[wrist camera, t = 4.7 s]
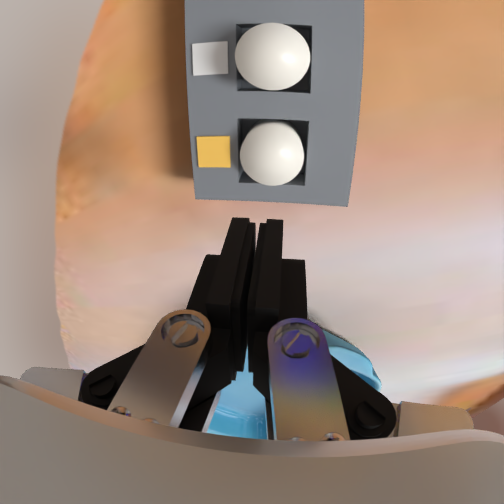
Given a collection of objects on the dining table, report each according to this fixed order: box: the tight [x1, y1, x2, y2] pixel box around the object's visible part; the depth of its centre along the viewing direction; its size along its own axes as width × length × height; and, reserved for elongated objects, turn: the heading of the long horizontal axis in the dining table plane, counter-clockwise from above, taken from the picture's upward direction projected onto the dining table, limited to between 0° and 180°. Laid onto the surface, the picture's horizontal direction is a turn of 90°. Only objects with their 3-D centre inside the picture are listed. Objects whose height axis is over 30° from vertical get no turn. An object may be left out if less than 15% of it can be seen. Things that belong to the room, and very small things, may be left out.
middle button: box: [235, 23, 310, 90], centre depth 16 cm, size 4×4×4 cm
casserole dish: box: [207, 329, 381, 440], centre depth 42 cm, size 37×22×7 cm, turn 148°
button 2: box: [240, 119, 304, 186], centre depth 22 cm, size 4×4×4 cm
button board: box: [185, 0, 364, 207], centre depth 18 cm, size 12×22×4 cm, turn 0°
